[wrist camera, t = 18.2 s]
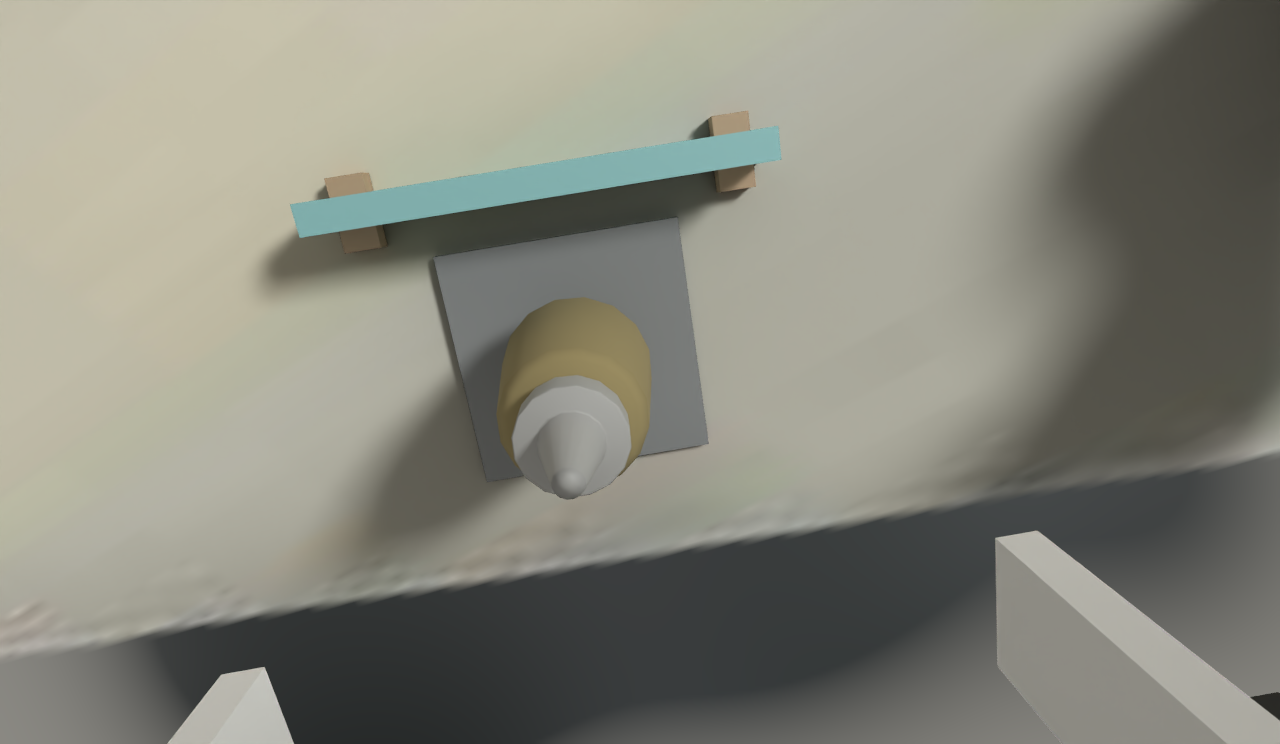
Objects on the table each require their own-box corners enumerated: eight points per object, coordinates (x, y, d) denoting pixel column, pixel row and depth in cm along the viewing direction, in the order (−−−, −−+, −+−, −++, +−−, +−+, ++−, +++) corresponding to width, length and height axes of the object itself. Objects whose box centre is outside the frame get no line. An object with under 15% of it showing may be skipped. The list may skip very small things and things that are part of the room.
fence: (323, 180, 36) (282, 178, 32) (751, 111, 37) (775, 99, 32) (343, 253, 37) (306, 262, 33) (759, 185, 38) (783, 184, 33)
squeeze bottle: (625, 270, 38) (652, 334, 21) (662, 397, 40) (714, 552, 23) (491, 309, 38) (407, 407, 21) (535, 435, 40) (493, 617, 23)
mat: (435, 256, 38) (433, 257, 37) (676, 216, 38) (677, 217, 38) (488, 478, 42) (487, 482, 41) (707, 440, 42) (708, 443, 41)
